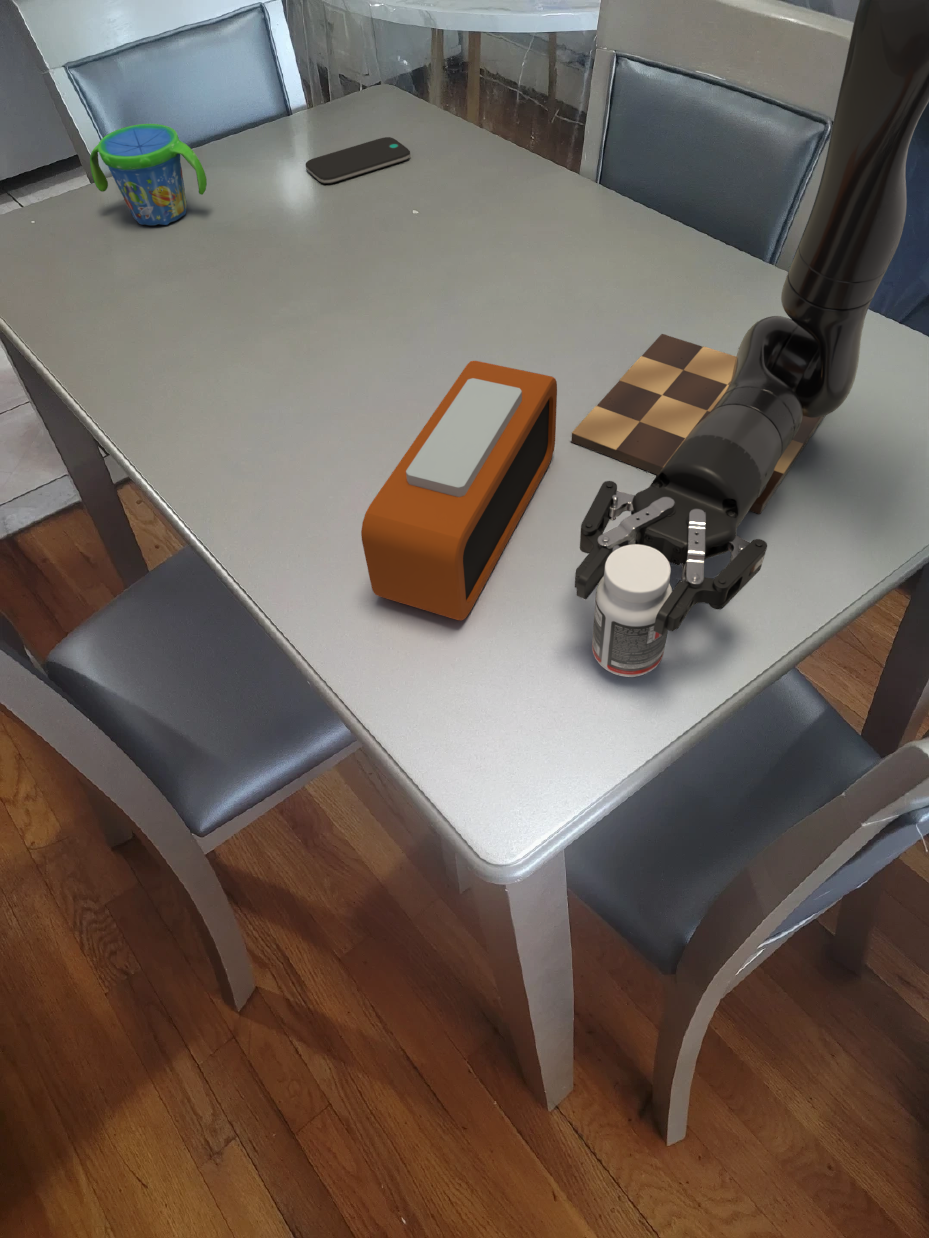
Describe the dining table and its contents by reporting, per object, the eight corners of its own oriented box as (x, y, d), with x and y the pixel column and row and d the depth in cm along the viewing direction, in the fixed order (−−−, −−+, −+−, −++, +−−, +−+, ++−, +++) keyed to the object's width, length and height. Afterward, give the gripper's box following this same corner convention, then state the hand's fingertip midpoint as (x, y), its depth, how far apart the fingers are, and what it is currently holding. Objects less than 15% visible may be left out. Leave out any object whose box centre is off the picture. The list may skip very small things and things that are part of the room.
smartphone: (414, 152, 129) (322, 180, 124) (414, 158, 129) (324, 186, 125) (390, 135, 133) (301, 161, 129) (391, 140, 134) (302, 167, 129)
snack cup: (227, 201, 124) (207, 126, 116) (195, 238, 118) (171, 161, 110) (131, 194, 127) (105, 119, 119) (94, 229, 121) (64, 153, 113)
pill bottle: (677, 647, 70) (695, 564, 62) (635, 692, 67) (648, 611, 59) (619, 611, 72) (629, 527, 64) (576, 653, 70) (582, 571, 62)
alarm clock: (461, 631, 73) (452, 537, 64) (373, 605, 75) (353, 510, 66) (555, 454, 86) (559, 356, 78) (478, 436, 89) (474, 339, 80)
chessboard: (836, 398, 90) (839, 389, 89) (759, 515, 80) (762, 505, 79) (660, 342, 97) (661, 333, 96) (571, 442, 87) (571, 432, 86)
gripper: (642, 407, 70) (533, 534, 62) (816, 466, 65) (722, 616, 56) (634, 476, 76) (533, 601, 68) (793, 536, 71) (704, 681, 62)
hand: (619, 607), depth 62 cm, fingers closed on pill bottle, 5 cm apart
